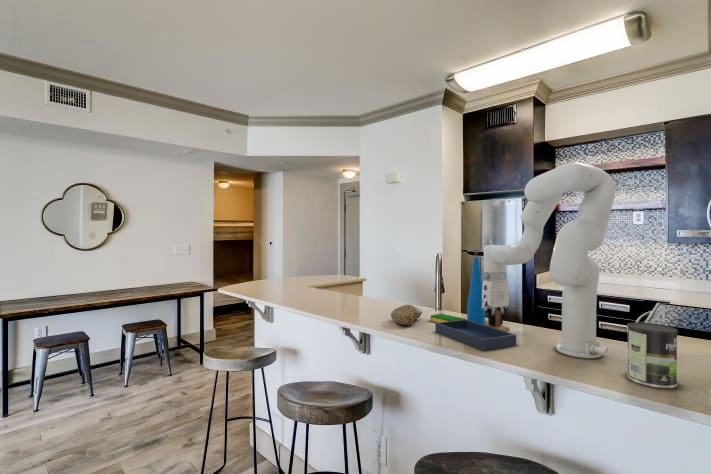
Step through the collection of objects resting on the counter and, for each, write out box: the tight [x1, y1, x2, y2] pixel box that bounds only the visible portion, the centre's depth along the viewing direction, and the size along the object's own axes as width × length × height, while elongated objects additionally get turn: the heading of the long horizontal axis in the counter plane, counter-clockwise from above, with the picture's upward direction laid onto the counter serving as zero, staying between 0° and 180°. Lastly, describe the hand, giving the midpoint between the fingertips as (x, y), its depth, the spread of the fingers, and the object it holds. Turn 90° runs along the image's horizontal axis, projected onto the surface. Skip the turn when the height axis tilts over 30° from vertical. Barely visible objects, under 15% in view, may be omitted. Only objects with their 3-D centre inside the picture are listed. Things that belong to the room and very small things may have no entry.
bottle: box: [466, 251, 486, 324], centre depth 162 cm, size 7×7×30 cm
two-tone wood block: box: [482, 308, 510, 333], centre depth 145 cm, size 9×5×8 cm, turn 25°
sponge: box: [390, 304, 423, 326], centre depth 161 cm, size 13×8×20 cm
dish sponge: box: [429, 313, 467, 323], centre depth 161 cm, size 7×14×2 cm, turn 38°
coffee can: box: [626, 321, 679, 389], centre depth 98 cm, size 10×10×14 cm
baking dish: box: [435, 318, 517, 352], centre depth 137 cm, size 26×15×4 cm, turn 25°
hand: (495, 324), depth 145 cm, fingers closed on two-tone wood block, 2 cm apart
